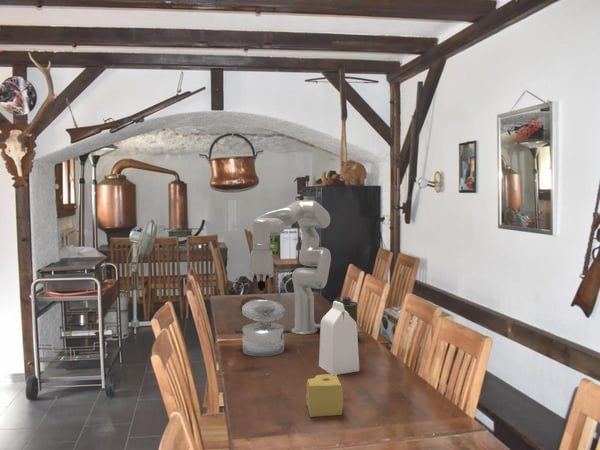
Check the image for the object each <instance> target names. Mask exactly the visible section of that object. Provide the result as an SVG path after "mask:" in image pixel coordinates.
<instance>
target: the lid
mask: <svg viewBox="0 0 600 450" xmlns="http://www.w3.org/2000/svg"><path fill="white" fill-rule="evenodd" d="M241 314H242V315H243V316H244V317H246V318H247V319H249V320H252V321H255V322H259V323H272V322H274V321H278V320H281V319H282V318H283V317H284V316H285V315H286V308H285V306H284V305H283V304H281V303H280V302H278V301H275V300H270V299H266V300H253V301H250V302H247V303H246V304H244V305H243V307H242V308H241Z"/></svg>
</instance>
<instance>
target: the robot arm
mask: <svg viewBox="0 0 600 450" xmlns="http://www.w3.org/2000/svg"><path fill="white" fill-rule="evenodd" d="M296 222H297V224H298V227H299V228H300V231H301V234H302V239H301V240H302V241H301V246H300V251H299V256H298V258H299V259H298V260H299V263H300V264H301V265H303V266H305V267H298V268H297V267H296V268H295V269H294V270H293V272H292V276H291V279H292V285H293V292H294V297H293V298H294V327H292V328H291V333H293V334H295V335H313V334H316V333H317V332H318V329H320V328H321V323H316V322H315V297H314V293H313V291H312V289H324V288H325V287H326V285H327V282H328V279H329V274H330V268H331V260H332V257H331V251H330V250H329V248H327V247H323V246H320V247H319V244H320V235H319V233H318V232H317V230H316V229H326V228H328V227H329V226H330V223H331V216H330V213H329V211H328V210H326V209H325V208H324V207H323V206H322V204H320V203H319V202H317V201H316V200H306V199H305V200H302V199H301V200H296V201H294V202H292V203H289V204H288V205H287V206H284V207H283V208H279V209H277V210H273V211H269V212H266V213H264V214H261V215H260V216H258V217H257V218H256V219H254V220H253V221H252V250H251V251H250V257H249V275H248V277H250V278H254V279H255V280H256V281H257V288H258V291H259V292H261V291H262V292H263V291H265V289H266V281H267V280H268V279H269V278H274V276H275V273H274V272H275V271H274V254H273V250H271V249H274V245H273V244H271V236H280V235H281V234H283V233H284V231H285V228H286V227H289V226H292V225H294V224H295V223H296ZM306 266H308V267H306ZM311 267H316V268H311ZM261 275H262V279H261Z"/></svg>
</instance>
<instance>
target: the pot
mask: <svg viewBox="0 0 600 450" xmlns="http://www.w3.org/2000/svg"><path fill="white" fill-rule="evenodd" d="M291 333H292V328H285V327H284V325H283V324H280V323H275V322H254V323H250V324H246V325H244V326H243V327H242V328H239V329H238V328H237V329H235V334H242V353H243V354H244V355H247V356H250V357H251V356H252V357H274V356H276V355H279V354H282V353H283V352H284V351H285V334H291Z"/></svg>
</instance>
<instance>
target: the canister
mask: <svg viewBox="0 0 600 450" xmlns="http://www.w3.org/2000/svg"><path fill="white" fill-rule="evenodd" d="M338 302H340V303H342V304H344V309H345V311H347V312H348V313H349V316H350V317H351V318H352V319H354V321H355V322H356V324H357V325H358V305H359V304H358V302H356V301H353V300H352V299H351V297H350V296H343V297H342V300H340V301H338Z"/></svg>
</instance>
